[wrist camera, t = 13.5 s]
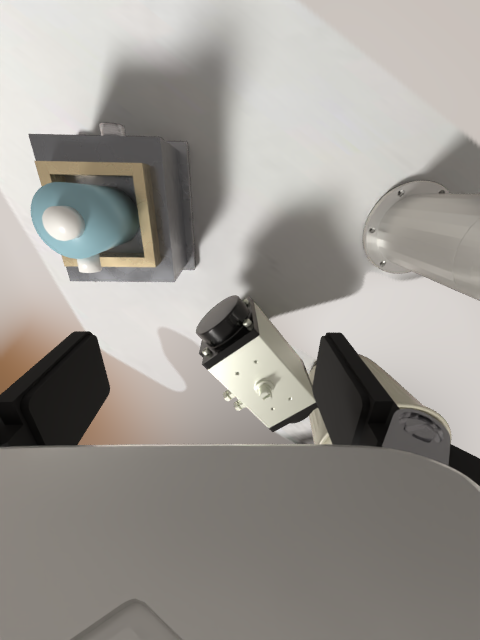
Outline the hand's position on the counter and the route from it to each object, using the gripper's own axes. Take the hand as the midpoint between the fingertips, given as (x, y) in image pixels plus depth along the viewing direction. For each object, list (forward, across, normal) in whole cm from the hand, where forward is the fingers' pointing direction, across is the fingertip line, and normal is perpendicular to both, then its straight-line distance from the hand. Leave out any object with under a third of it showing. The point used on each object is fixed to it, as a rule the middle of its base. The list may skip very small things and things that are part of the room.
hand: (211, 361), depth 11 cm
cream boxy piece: (+31, -4, +14) cm, 34 cm away
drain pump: (+20, +12, -4) cm, 24 cm away
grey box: (+30, +12, -4) cm, 33 cm away
